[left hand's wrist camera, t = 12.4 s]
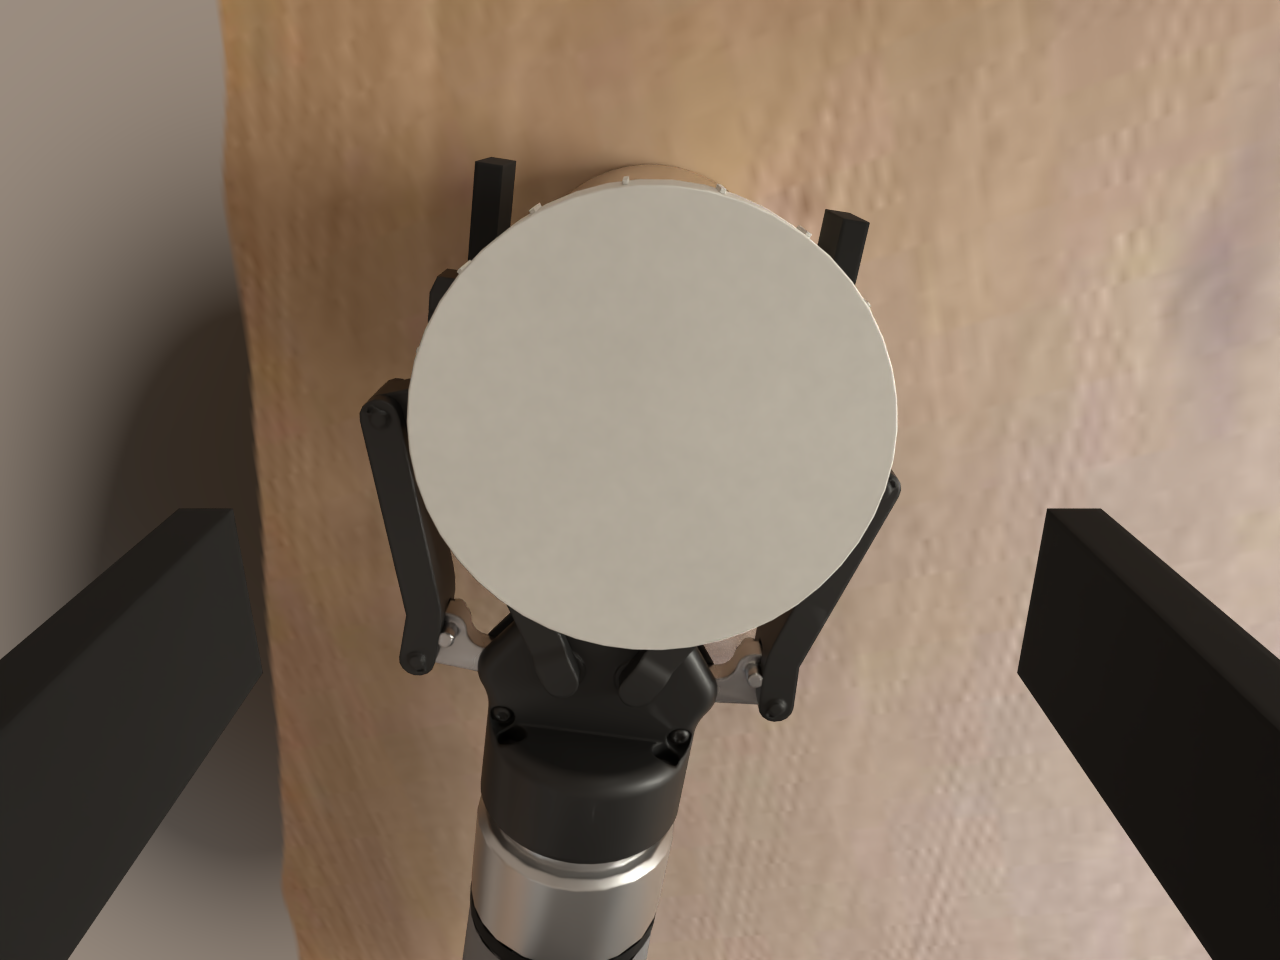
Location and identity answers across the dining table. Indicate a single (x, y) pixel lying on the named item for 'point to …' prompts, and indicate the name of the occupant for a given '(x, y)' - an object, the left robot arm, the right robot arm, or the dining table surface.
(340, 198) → the dining table surface
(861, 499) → the lid
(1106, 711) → the left robot arm
